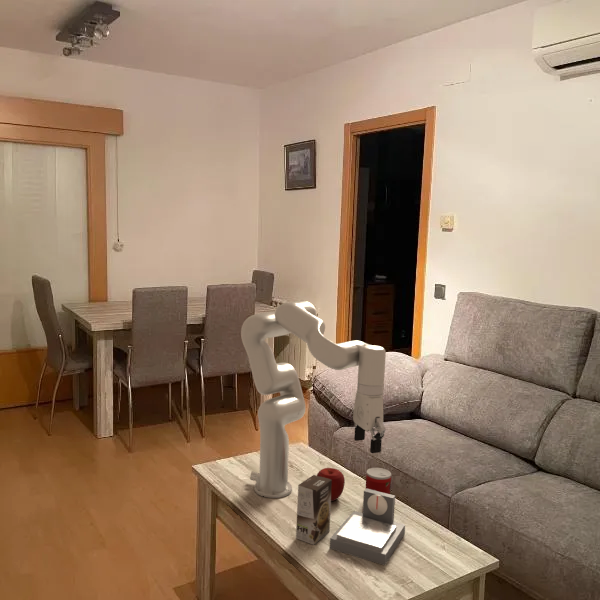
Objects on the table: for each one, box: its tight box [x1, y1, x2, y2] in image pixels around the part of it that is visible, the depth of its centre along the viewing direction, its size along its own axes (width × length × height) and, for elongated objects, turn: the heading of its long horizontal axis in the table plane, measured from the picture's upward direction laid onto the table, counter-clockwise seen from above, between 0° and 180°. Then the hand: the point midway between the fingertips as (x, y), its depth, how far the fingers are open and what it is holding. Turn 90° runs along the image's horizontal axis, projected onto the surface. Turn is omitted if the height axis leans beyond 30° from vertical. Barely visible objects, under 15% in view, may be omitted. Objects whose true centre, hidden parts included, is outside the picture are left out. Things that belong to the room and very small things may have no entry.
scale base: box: [329, 488, 406, 566], centre depth 163 cm, size 16×18×11 cm
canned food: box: [365, 467, 392, 494], centre depth 185 cm, size 8×8×11 cm
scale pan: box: [337, 515, 396, 551], centre depth 162 cm, size 13×13×1 cm
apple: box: [316, 467, 346, 502], centre depth 188 cm, size 10×10×10 cm
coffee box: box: [295, 474, 332, 546], centre depth 165 cm, size 9×6×16 cm
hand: (367, 446), depth 167 cm, fingers open, 9 cm apart
